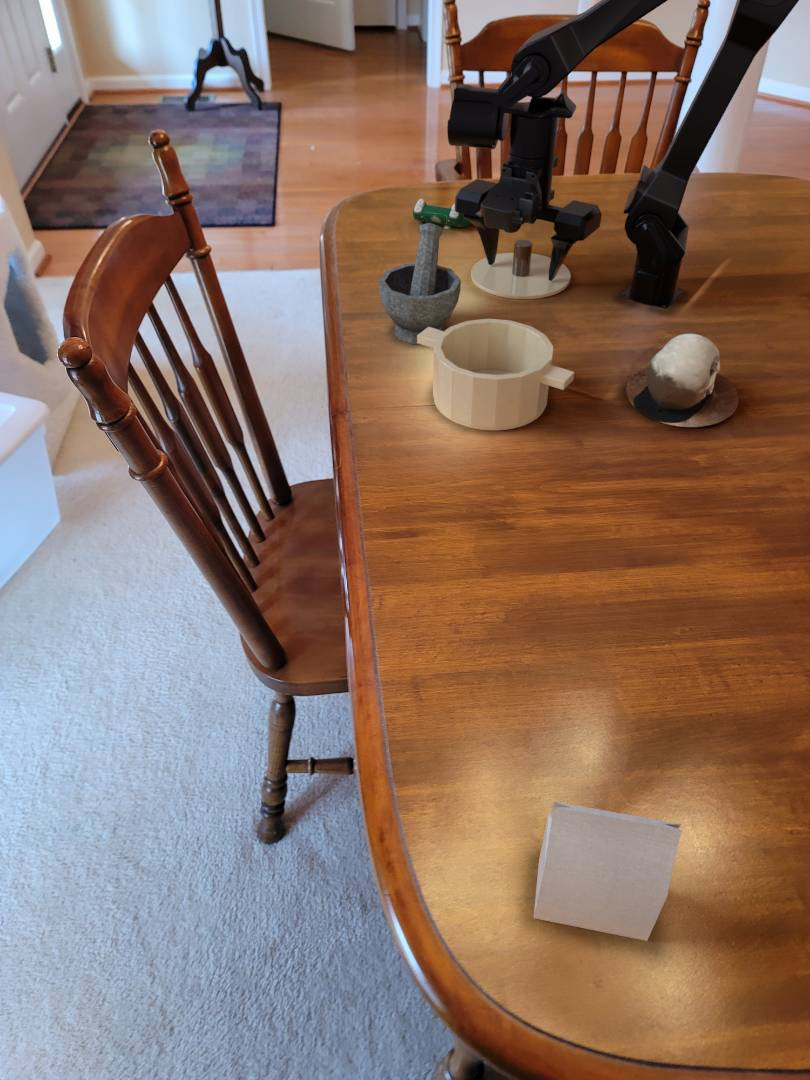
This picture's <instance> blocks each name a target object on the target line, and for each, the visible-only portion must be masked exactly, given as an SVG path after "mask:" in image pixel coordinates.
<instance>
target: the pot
mask: <svg viewBox="0 0 810 1080" xmlns="http://www.w3.org/2000/svg"><path fill="white" fill-rule="evenodd" d="M417 343H418V344H417V345H422V346H424V347H428V348H431V349H433V357H432V358H433V362H432V363H433V367H432V369H433V370H432V397H433V402H434V405H435V407H436V409H437V410H438V411H439V413H440V414H441V415H442V416H444V417H445V418H446V419H448V420H450V421H452V422H454V423H456V424H457V425H460V426H463V427H466V428H469V429H470V428H471V429H475V430H480V431H507V430H512V429H516V428H521V427H523V426H526V425H529V424H530V423H532V422H534V421H536V420H537V419H538V418H539V417H540V416H541V415H542V414H543V413H544V412H545V410H546V407H547V404H548V395H549V388H550V387H552V388H554V389H555V388H556V389H559V390H562V391H565V389H566V388H567V387H568V386H569V385H570V384H571V383H572V382H573V381H574V378H575V371H573V370H570V369H565V368H563V367H560V366H556V365H553V355H554V348H555V347H554V345H553V343H552V342H551V341H550V339H549V337H548V336H547V335H546V334H545V333H543V332H542V331H540V330H538V329H537V328H535V327H534V326H531V325H528V324H525V323H521V322H518V321H514V320H511V319H498V318H482V319H471V320H465V321H462V322H460V323H457V324H454V325H451V326H449V327H448V328H446V329H444V330H443V331H441V330H438V329H435V328H431V327H427V328H426V329H425V330H423V331H422V332H421V333H420V334H418V335H417Z"/></svg>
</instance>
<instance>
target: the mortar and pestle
mask: <svg viewBox="0 0 810 1080" xmlns="http://www.w3.org/2000/svg"><path fill="white" fill-rule="evenodd" d="M418 231H419V234H420V237H419V241H418V242H419V243H418V247H417V253H416V257H415V258H416V259H415V262H414V263H404V264H401V265H399V266H394V267H392V268H390V269H387V270H385V272H384V273H383V274H382V275H381V277H380V279H379V280H378V292H379V298H380V303H381V306H382V307H383V309H384V311H385V312H386V314H387V315H388V317H389V318H390V319H391V321H392V322H393V323H394V324H395V326H394V334H395V335H396V337H397V338H398V340H399V341H402V342H404V343H408V344H411V345H419V344H418V343H417V335H418V334H420V333H421V332H422V331H423V330H425V329H426V328H427V327H431V328H435V329H438V330H441V331H445V324H446V323H447V322H448V321H449V319H450V317H451V316H452V314H453V312H454V310H455V308H456V306H457V305H458V303H459V299H460V294H461V288H462V287H461V286H462V285H461V284H462V280H461V278H460V277H459V275H458V274H456V272H455V271H454V270H453V269H452V268H449V267H446V266H441V265H438V262H439V261H438V260H439V249H440V237H441V236H442V235H443V228H442V227H441V225H439V224H435V225H434V224H425V223H423V224H420V225H419V229H418Z"/></svg>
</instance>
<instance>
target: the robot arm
mask: <svg viewBox="0 0 810 1080" xmlns="http://www.w3.org/2000/svg"><path fill="white" fill-rule="evenodd" d="M668 1H669V0H599V1H598V2H597V3H595V4H594V5H592V6H591V7H590V8H589V7H588V9H586V10H585V11H583V12H581V13H579V14H577V15H574V16H572V17H569V18H566V19H564V20H561V21H559V22H557V23H555V24H553V25H550V26H548V27H546V28H544V29H542V30H539V31H538V32H535V33H534V34H532V35H530V37H529V38H528V39H527V40H526V41H525V42H524V43H523V44H522V45H521V47H519V49H518V50H517V51H516V53H514V56H513V58H512V61H511V66H510V73H511V74H510V76H509V77H506V78H505V79H504V80H503V81H502V83H501V84H500V85H499V86H498V88H495V87H494V88H492V87H481V86H480V87H479V86H473V85H470V84H464V83H459V84H458V85H457V86H456V87H455V88H454V89H453V100H452V102H451V107H450V113H449V119H448V120H447V128H446V129H447V140H448V141H447V142H448V144H449V145H450V146H452V147H455V146H456V147H465V148H474V149H475V148H476V149H487V150H495V149H496V148H497V145H498V142H504V141H505V140H506V138H507V133H508V128H510V129H509V141H508V142H509V143H508V153H507V154H508V155H507V160H506V161H505V162H503V163H502V168H501V170H500V171H501V173H500V177H499V179H498V183H497V182H492V181H487V180H485V179H484V180H483V179H479V178H476V179H474V180H473V181H471V182H469V183H468V184H466V185H465V186H463V187H461V188H459V190H458V191H457V192H456V195H455V197H454V204H455V211H456V212H458V213H462V214H464V215H463V217H464V219H466V220H469V221H470V222H471V223H472V224H471V225H473V226H474V227H475V228H476V230H477V233H478V236H479V238H480V240H481V243H482V247H483V250H484V254H485V258H486V257H487V261H488V264H489V265H492V264H494V262H495V259H496V255H497V254H498V247H499V246H498V245H499V238H500V237H499V236H500V230H502V231H504V232H505V233H508V234H513V233H517V232H518V231H519V230H520V229H521V227H522V226H523V225H524V224H529V225H530V224H531V225H534V224H535V223H536V221H537V220H541V221H545V222H550V223H553V231H554V232H555V233H554V235H552V236H551V237H550V240H551V244H552V251H551V256H550V258H551V261H550V267H549V281H552V280H553V279H554V278H555V276H556V274H557V273H558V271H559V269H560V267H561V265H562V264H563V263H564V262H565V260H566V257H567V256H568V254H569V253H570V251H571V249H572V248H573V246H574V245H575V244H576V243H577V242H583V241H585V240H586V239H587V238H588V237H589V236H591V235H592V234H593V233H595V232H596V231H597V230H598V229H599V228H601V221H602V211H601V209H600V207H599V205H598V204H593V203H588V202H584V201H579V200H574V199H573V200H572V201H570V202H569V203H568V204H566V205H565V206H564V207H561V206H556V205H552V204H550V202H551V201H552V200H554V199H555V193H556V192H555V191H556V190H554V189H552V184H553V175H554V174H553V173H554V169H555V168H556V167H558V166H559V156H556V145H557V137H558V127H559V119H572V117H573V115H574V113H575V111H576V110H577V105H576V103H575V102H574V101H573V100H572V99H571V98H570V97H569V96H568V93H567V90H562V91H561V92H560V93H559V94H558V95H557V96H555V97H554V96H553V97H551V96H547V95H549V93H551V92H552V91H553V90H554V89H555V88H556V87H557V86H559V84H561V82H562V81H564V80H565V79H566V78H567V77H568V76H569V75H570V74H571V73H572V72H573V71H574V70H575V69H576V68H578V66H579V65H580V64H581V63H582V62H584V60H585V59H586V58H587V57H588V56H589V55H590V54H592V52H593V51H594V50H596V49H597V48H599V47H600V46H602V45H603V44H605V43H606V42H607V41H609V40H610V39H612V38H613V37H615V36H617V35H618V34H620V33H621V32H623V31H624V30H626V29H627V28H629V27H630V26H632V25H633V24H635V23H636V22H637V21H640V20H641V19H642V18H644V17H645V16H647V15H648V14H649V13H651V12H653V11H655V10H656V9H657V8H659V7H660V6H661V5H663V4H665V3H667V2H668ZM799 1H800V0H736V2H735V5H734V8H733V11H732V15H731V17H730V21H729V24H728V28H727V30H726V34H725V36H724V38H723V40H722V42H721V43H720V46H719V48H718V50H717V52H716V54H715V56H714V58H713V60H712V62H711V64H710V66H709V68H708V70H707V72H706V73H705V75H704V77H703V79H702V82H701V84H700V86H699V88H698V89H697V91H696V93H695V96H694V98H693V100H692V101H691V104H690V105H689V107H688V109H687V111H686V113H685V115H684V117H683V119H682V121H681V123H680V125H679V127H678V128H677V131H676V133H675V135H674V137H673V139H672V141H671V143H670V145H669V147H668V149H667V151H666V152H665V154H664V156H663V158H662V159H661V160H660V161H659V162H658V164H657V165H656V166H655V167H654V168H653V169H652V168H650V167H648V166H647V165H645V164H644V165H643V166H642V169H641V172H640V175H639V178H638V180H637V183H636V184H635V186H634V187H633V189H631V191H629V193H628V195H627V198H626V203H625V206H624V209H623V214H625V215H627V216H626V219H625V223H624V231H625V234H626V237H627V239H629V241H630V242H631V243H632V244H634V245H635V249H636V257H635V263H634V266H633V273H632V279H631V284H630V285H629V286H628V287H627V288H626V289H625V290H624V291H623V292H622V293H621V294H620V297H621V298H622V299H625V300H630V301H633V302H635V303H639V304H643V305H646V306H651V307H652V306H653V307H657V308H660V309H664V310H665V309H668V308H669V307H670V306H671V305H672V304H673V303H674V302H675V301H676V300H677V299H678V298H679V296H680V295H682V294H683V292H684V290H683V288H679V287H677V284H678V279H679V275H680V271H681V268H682V267H681V266H682V262H683V258H684V256H685V255H686V248H687V243H688V242H687V240H688V236H689V228H690V226H689V224H688V223H687V222H686V221H685V220H684V218H683V217H682V215H681V214H680V208H681V206H682V202H683V199H684V196H685V193H686V189H687V186H688V183H689V180H690V177H691V176H692V174H693V172H694V170H695V168H696V167H697V164H698V162H699V161H700V159H701V157H702V155H703V153H704V152H705V150H706V148H707V146H708V144H709V142H710V141H711V138H712V136H713V135H714V133H715V131H716V129H717V127H718V126H719V124H720V123H721V120H722V118H723V116H724V114H725V113H726V111H727V109H728V108H729V105H730V104H731V102H732V100H733V98H734V96H735V94H736V93H737V91H738V89H739V87H740V85H741V83H742V81H743V79H744V78H745V76H746V74H747V73H748V70H749V68H750V67H751V65H752V63H753V61H754V60H755V57H756V56H757V54H758V53H759V52H760V51H761V49H762V48H763V47H764V46H765V45H766V43H767V42H768V41H769V40H770V39H772V37H773V35H774V34H775V33H776V32H777V30H778V29H779V28H780V27H781V25H782V24H783V23H784V21H786V19H787V18H788V16H789V15H790V13H791V12H792V11H793V10H794V8H795V7H796V6H797V4H798V2H799ZM526 97H529V98H530V101H522V100H523V99H525V98H526ZM520 101H521V102H520ZM509 116H510V117H509ZM509 119H510V127H509Z"/></svg>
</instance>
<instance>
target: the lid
mask: <svg viewBox="0 0 810 1080" xmlns="http://www.w3.org/2000/svg"><path fill="white" fill-rule="evenodd" d="M532 252H533V242H532V241H530V240H528V239H517V240H515V241H514V243H513V252H504V253H503V252H502V253H497V254H496V259H495V262H494V264H492V265H489V264H488V261H487V257H486V256H485V257H483V258H482V259H480V260H478V261H477V262H476V263H475V264H474V265H472V268H471V270H470V278H471V281H472V283H473V284H474V285H475V286H476V287H477V288H479V289H480V290H481V291H483V292H485V293H488V294H490V295H494V296H497V297H501V298H506V299H512V300H536V299H543V298H548V297H552V296H554V295H557V294H559V293H561V292H563V291H564V290H566V289H567V287H568V286H570V283H571V278H572V275H571V274H572V273H571V271H570V270H569V268H568V267H567V266H566V265H565V264H563V263H562V265H561V267H560V269H559V271H558V273H557V274H556V276H555V278H554V279H553V280H552V281H549V267H550V261H551V257H550V256H546V255H542V254H538V253H532Z"/></svg>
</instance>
